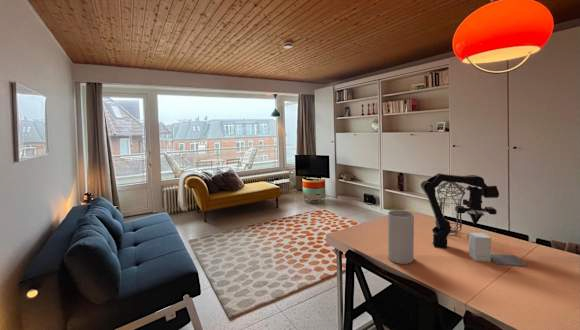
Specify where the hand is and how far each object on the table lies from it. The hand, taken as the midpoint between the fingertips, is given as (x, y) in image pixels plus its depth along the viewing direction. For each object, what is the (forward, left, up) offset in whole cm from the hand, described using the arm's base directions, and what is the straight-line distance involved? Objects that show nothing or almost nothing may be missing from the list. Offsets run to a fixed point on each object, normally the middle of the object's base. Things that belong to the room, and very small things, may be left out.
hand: (474, 224), depth 154 cm
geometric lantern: (-8, +19, -13) cm, 24 cm away
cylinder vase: (-41, -24, -13) cm, 49 cm away
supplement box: (-2, -15, -13) cm, 20 cm away
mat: (+9, -15, -13) cm, 22 cm away
